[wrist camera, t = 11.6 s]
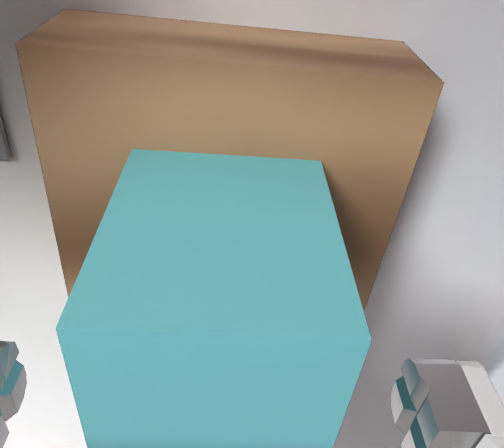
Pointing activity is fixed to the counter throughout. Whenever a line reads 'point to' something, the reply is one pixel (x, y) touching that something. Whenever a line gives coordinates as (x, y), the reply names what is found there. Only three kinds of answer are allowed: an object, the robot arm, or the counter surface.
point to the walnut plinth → (223, 114)
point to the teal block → (215, 308)
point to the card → (3, 143)
